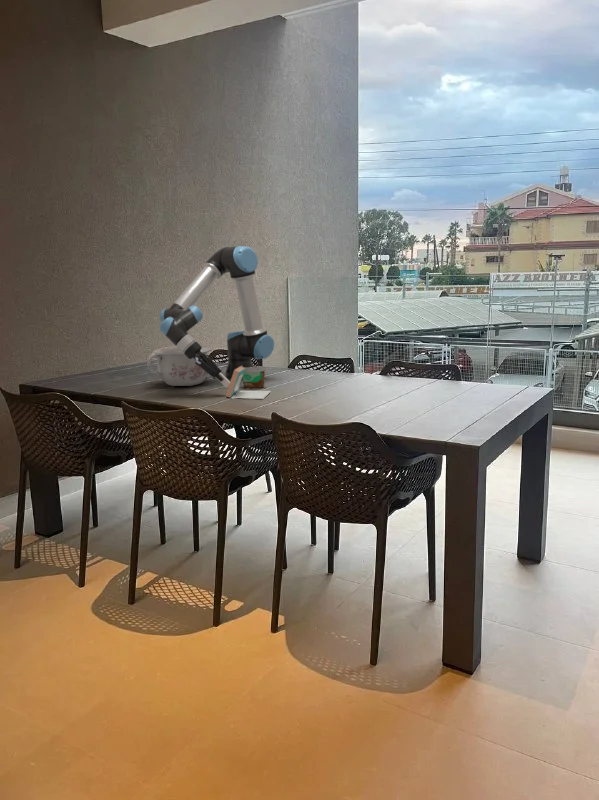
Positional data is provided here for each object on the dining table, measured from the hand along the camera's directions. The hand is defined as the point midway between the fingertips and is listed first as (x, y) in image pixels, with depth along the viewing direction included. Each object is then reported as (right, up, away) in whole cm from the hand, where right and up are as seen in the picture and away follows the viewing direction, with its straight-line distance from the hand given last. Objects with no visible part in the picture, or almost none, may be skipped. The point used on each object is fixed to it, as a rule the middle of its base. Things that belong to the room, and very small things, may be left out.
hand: (228, 385), depth 277 cm
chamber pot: (-25, +1, +30) cm, 39 cm away
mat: (+10, -4, 0) cm, 11 cm away
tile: (+1, -4, +1) cm, 4 cm away
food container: (+9, -1, +17) cm, 19 cm away
